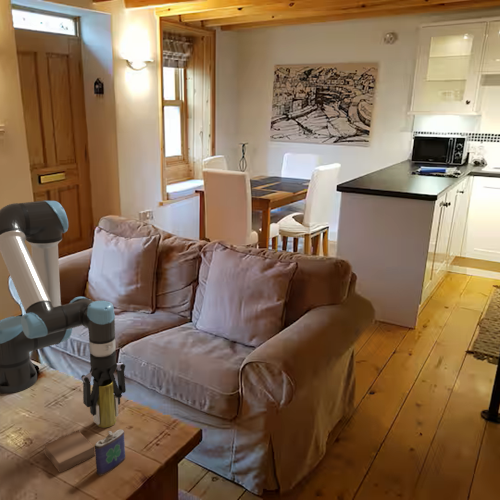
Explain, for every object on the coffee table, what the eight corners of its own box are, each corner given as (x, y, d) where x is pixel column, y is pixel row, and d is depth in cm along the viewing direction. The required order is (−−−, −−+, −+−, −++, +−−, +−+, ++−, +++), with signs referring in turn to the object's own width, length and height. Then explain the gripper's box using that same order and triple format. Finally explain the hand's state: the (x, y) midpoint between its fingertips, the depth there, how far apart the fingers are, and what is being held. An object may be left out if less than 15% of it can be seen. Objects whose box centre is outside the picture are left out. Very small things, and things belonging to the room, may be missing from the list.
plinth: (45, 454, 135) (44, 444, 134) (78, 438, 142) (78, 430, 141) (60, 472, 128) (59, 463, 127) (94, 455, 135) (94, 446, 134)
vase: (104, 430, 146) (101, 389, 142) (92, 422, 149) (89, 382, 145) (120, 421, 150) (118, 381, 147) (108, 413, 154) (106, 374, 150)
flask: (121, 454, 136) (120, 422, 133) (128, 459, 134) (127, 426, 131) (94, 472, 128) (92, 438, 126) (101, 477, 127) (99, 443, 124)
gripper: (78, 366, 134) (83, 436, 140) (136, 346, 147) (138, 412, 153) (67, 356, 140) (72, 424, 146) (124, 338, 152) (126, 402, 158)
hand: (106, 418), depth 149 cm, fingers closed on vase, 6 cm apart
